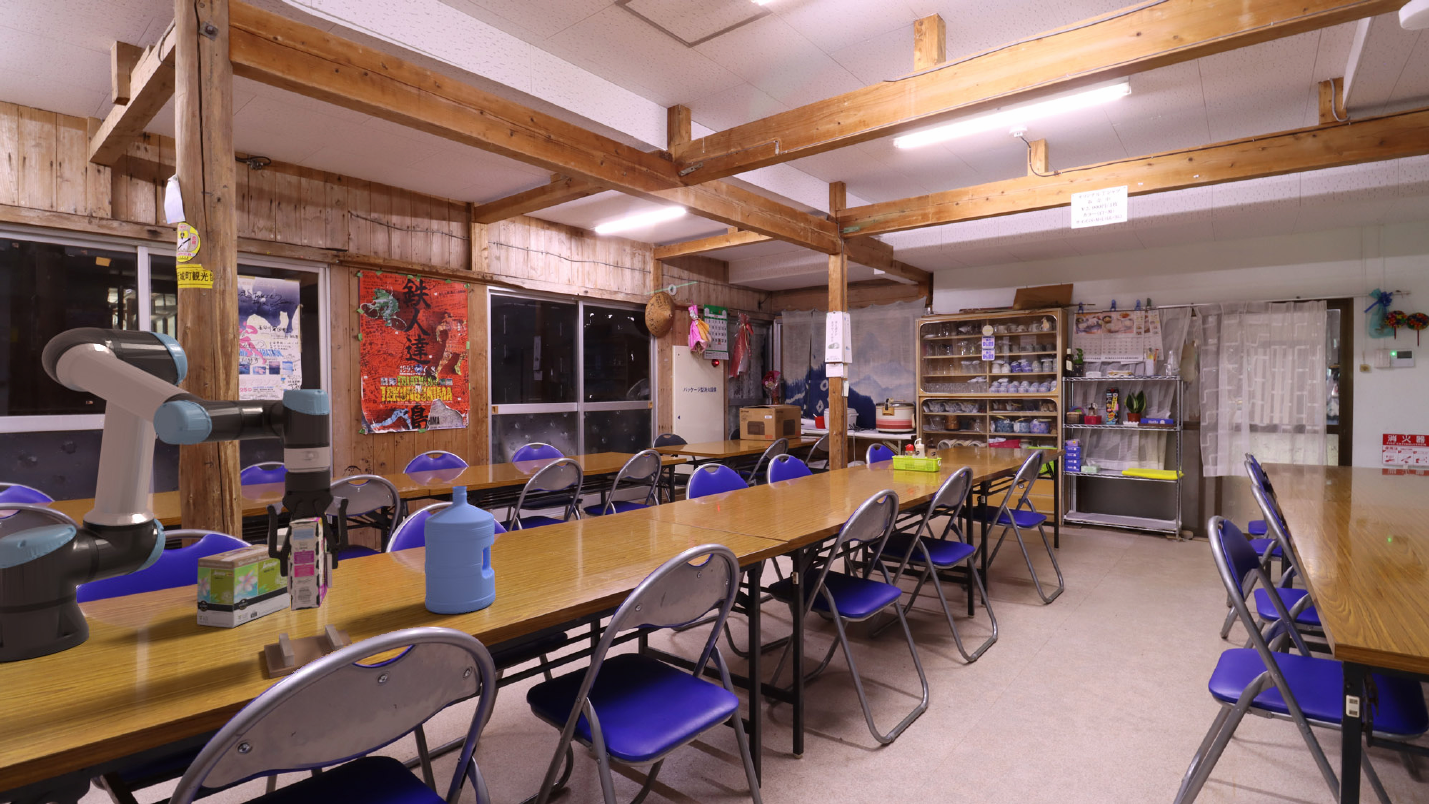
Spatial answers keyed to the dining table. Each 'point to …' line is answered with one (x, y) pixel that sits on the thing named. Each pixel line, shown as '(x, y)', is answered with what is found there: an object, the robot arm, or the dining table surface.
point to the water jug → (459, 557)
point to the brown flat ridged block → (302, 650)
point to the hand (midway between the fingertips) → (310, 589)
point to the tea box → (239, 586)
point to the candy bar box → (307, 563)
